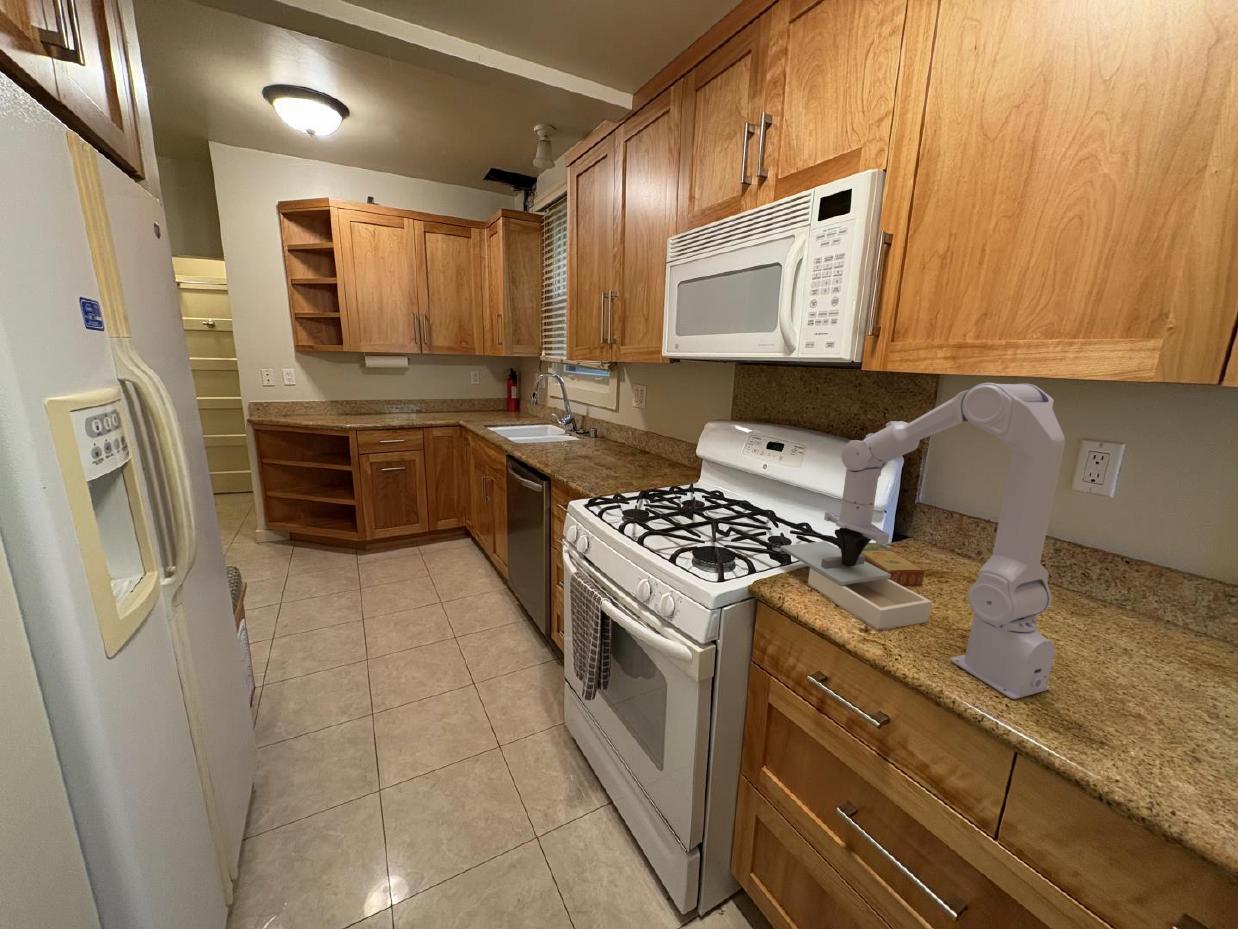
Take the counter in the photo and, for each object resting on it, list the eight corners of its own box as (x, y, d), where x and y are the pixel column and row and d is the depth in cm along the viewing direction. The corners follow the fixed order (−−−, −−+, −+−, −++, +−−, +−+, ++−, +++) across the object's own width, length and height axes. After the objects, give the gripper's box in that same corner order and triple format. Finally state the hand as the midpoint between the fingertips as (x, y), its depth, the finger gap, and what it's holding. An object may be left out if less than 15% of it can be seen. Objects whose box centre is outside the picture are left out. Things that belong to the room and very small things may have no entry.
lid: (890, 577, 96) (892, 566, 96) (840, 585, 92) (842, 573, 92) (824, 544, 113) (825, 534, 112) (780, 549, 109) (781, 539, 109)
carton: (885, 588, 102) (888, 569, 101) (844, 558, 117) (846, 541, 116) (922, 588, 103) (925, 569, 102) (876, 557, 118) (879, 541, 117)
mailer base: (928, 621, 88) (932, 601, 87) (877, 631, 84) (881, 610, 84) (853, 579, 105) (855, 561, 104) (807, 585, 101) (809, 567, 100)
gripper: (816, 492, 101) (808, 553, 103) (871, 513, 87) (861, 583, 90) (843, 490, 103) (834, 550, 106) (901, 510, 89) (890, 578, 92)
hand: (848, 565), depth 98 cm, fingers closed
